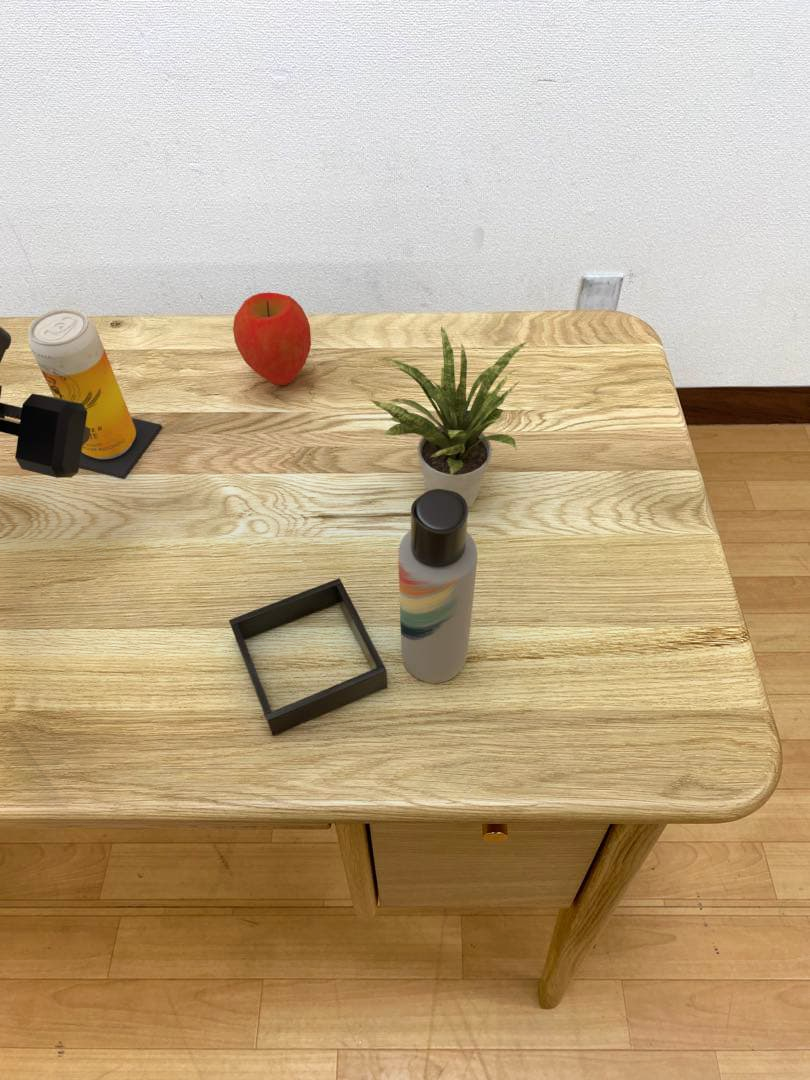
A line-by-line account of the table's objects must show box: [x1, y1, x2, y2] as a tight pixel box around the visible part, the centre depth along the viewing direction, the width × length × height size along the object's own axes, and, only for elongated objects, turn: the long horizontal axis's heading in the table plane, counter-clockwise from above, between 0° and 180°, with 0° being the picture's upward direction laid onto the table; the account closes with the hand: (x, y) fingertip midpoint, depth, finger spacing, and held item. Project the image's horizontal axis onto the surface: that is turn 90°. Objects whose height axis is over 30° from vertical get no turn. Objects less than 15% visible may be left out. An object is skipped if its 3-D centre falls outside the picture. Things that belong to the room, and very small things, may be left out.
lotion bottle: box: [397, 489, 478, 684], centre depth 59 cm, size 6×6×20 cm
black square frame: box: [228, 577, 388, 737], centre depth 65 cm, size 10×10×3 cm
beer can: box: [27, 308, 136, 459], centre depth 76 cm, size 6×6×15 cm
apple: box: [232, 292, 312, 386], centre depth 85 cm, size 9×8×11 cm
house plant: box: [368, 324, 528, 509], centre depth 72 cm, size 14×14×16 cm
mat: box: [79, 417, 163, 479], centre depth 83 cm, size 8×8×1 cm
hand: (45, 423), depth 72 cm, fingers open, 9 cm apart
